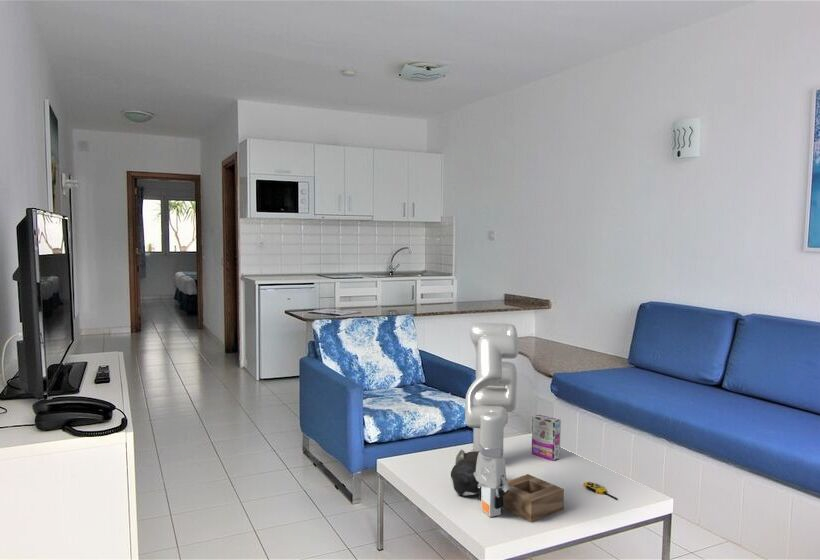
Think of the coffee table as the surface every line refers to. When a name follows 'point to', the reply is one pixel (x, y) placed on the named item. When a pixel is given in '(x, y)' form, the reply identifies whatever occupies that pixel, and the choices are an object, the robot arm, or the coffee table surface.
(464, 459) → the dark grey rounded piece
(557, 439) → the candy bar box
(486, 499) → the skincare box
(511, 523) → the coffee table surface
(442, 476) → the coffee table surface
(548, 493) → the socket block
